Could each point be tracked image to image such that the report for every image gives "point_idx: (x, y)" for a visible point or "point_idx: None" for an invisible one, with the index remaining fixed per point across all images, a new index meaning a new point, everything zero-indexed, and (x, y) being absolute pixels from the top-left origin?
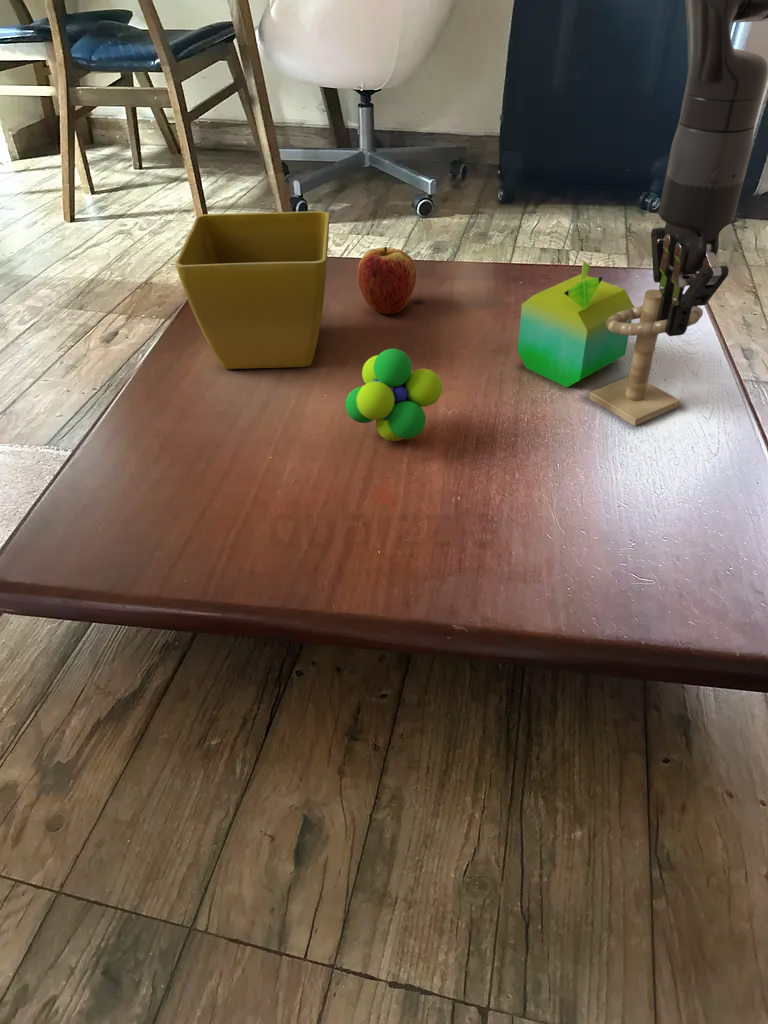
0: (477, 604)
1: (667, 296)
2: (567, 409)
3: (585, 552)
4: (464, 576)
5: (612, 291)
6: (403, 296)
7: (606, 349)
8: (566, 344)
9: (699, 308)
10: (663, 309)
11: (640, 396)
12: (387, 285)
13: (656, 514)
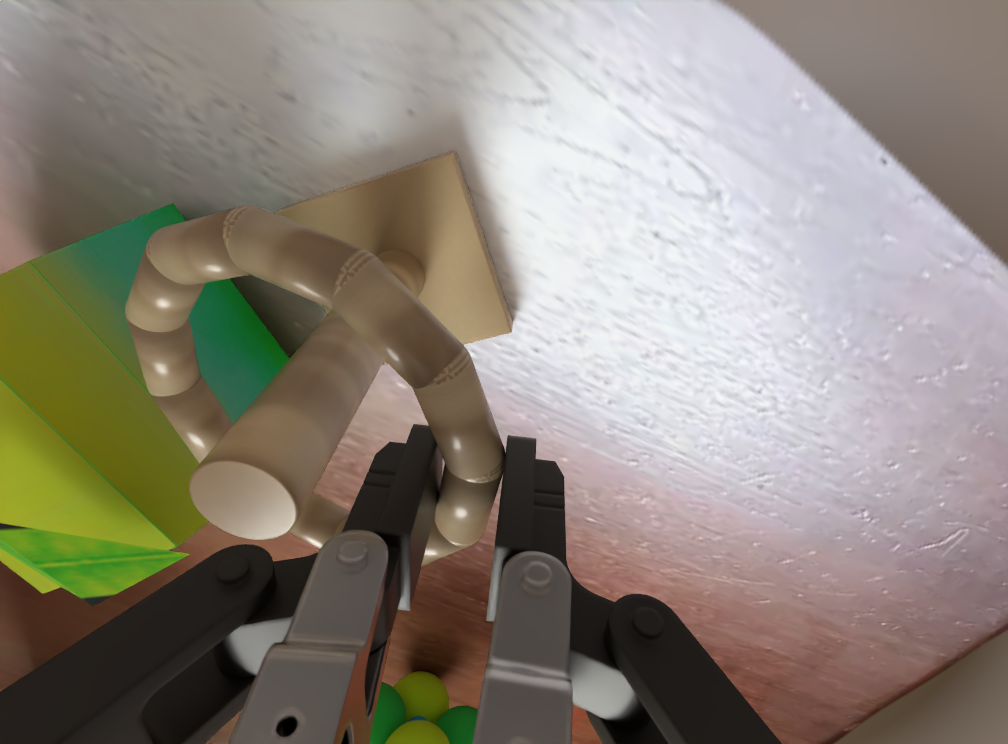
0: (831, 704)
1: (402, 598)
2: (398, 423)
3: (832, 578)
4: (774, 699)
5: None
6: None
7: (217, 329)
8: None
9: (356, 293)
10: (424, 549)
11: (422, 281)
12: None
13: (824, 442)
